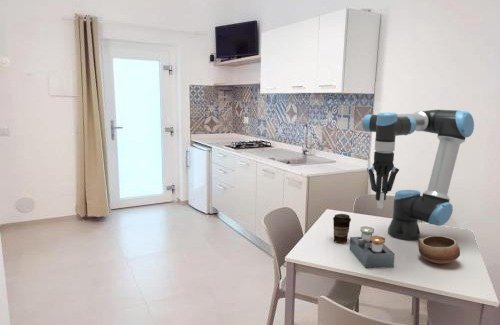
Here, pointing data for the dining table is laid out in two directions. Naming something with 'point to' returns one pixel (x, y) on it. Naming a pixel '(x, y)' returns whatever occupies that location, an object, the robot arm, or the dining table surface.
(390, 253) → the mount
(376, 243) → the orange light bulb
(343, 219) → the coffee cup
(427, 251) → the bowl
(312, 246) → the dining table surface
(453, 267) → the dining table surface
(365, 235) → the white light bulb
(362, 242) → the knob
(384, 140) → the robot arm
